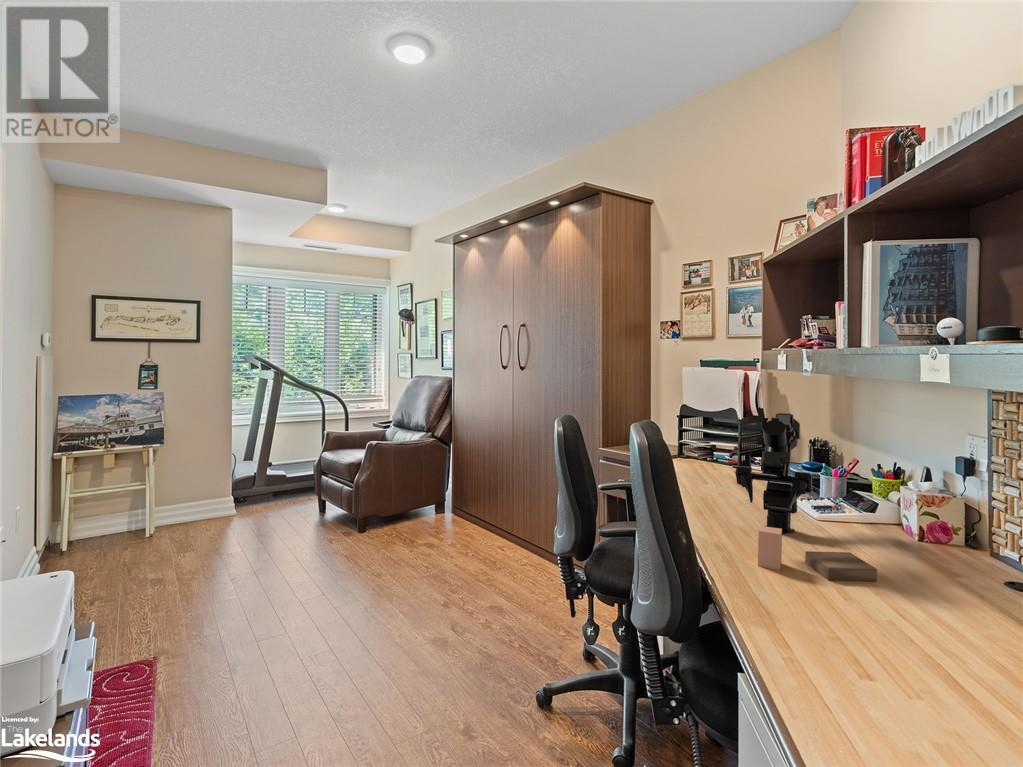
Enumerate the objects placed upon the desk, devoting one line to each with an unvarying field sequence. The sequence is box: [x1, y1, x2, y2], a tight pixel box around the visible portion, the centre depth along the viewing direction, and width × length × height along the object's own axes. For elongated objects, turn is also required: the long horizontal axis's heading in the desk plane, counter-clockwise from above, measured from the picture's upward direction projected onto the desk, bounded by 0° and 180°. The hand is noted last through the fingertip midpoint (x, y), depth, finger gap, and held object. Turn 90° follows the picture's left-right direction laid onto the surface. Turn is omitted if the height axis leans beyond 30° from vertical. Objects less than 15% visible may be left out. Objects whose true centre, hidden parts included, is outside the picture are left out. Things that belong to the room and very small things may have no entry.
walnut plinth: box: [804, 550, 878, 582], centre depth 130 cm, size 11×11×3 cm
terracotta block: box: [757, 525, 783, 571], centre depth 134 cm, size 5×5×9 cm
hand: (769, 504), depth 141 cm, fingers open, 9 cm apart
